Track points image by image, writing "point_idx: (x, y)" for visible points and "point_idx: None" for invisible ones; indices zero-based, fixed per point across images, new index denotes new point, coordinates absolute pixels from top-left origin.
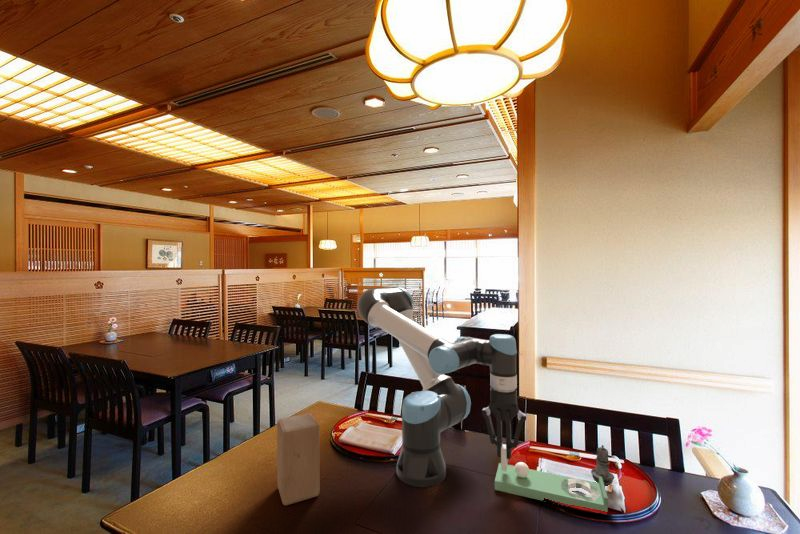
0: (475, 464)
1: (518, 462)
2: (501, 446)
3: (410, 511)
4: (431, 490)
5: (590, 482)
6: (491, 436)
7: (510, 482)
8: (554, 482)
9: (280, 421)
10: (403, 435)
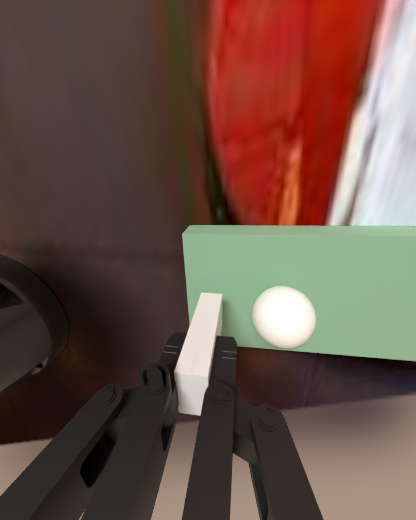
0: (103, 214)
1: (271, 326)
2: (177, 404)
3: (74, 410)
4: (69, 359)
5: None
6: (88, 477)
7: (239, 337)
8: (410, 297)
9: None
10: None
